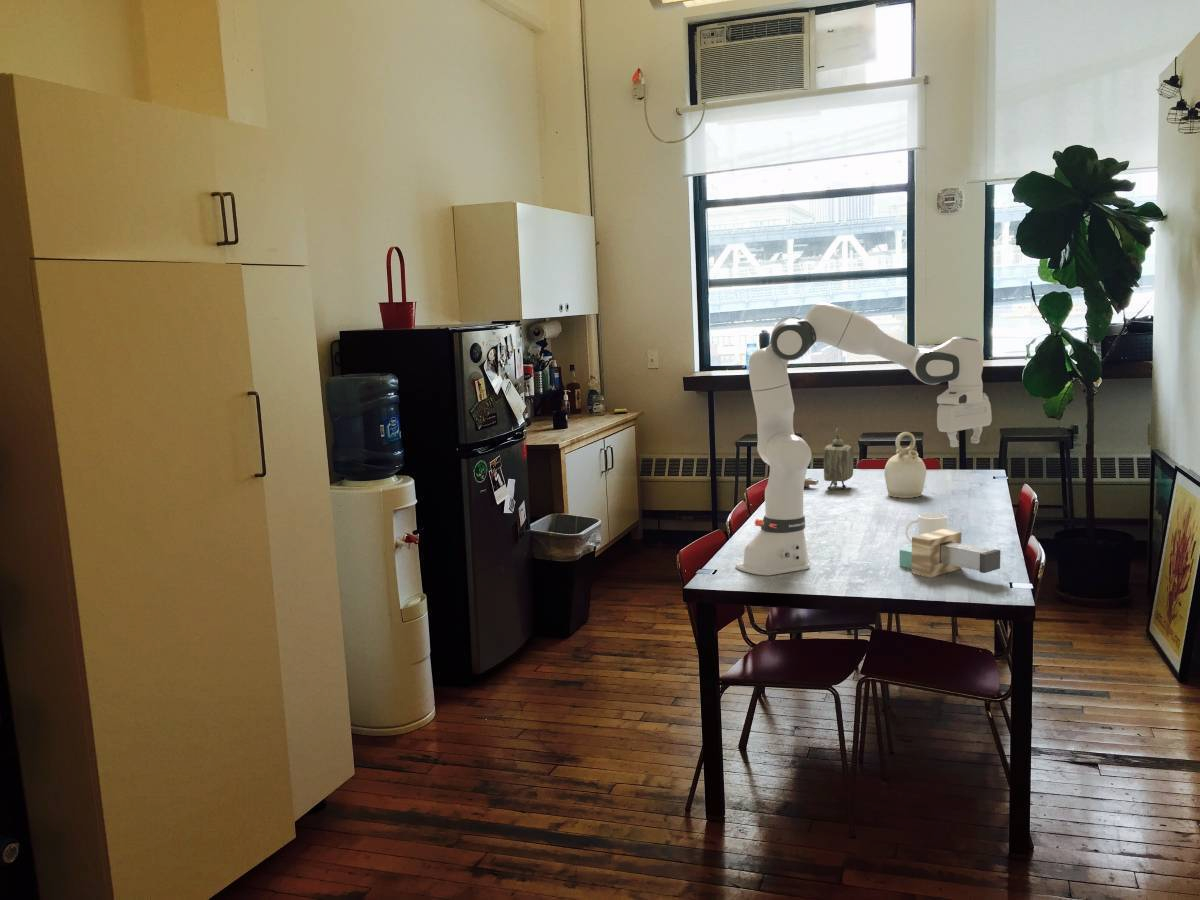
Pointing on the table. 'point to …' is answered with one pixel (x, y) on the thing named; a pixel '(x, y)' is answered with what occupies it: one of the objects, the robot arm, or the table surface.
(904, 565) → the block
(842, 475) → the tabletop clock
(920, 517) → the mug
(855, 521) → the table surface
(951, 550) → the shaft
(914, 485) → the jug
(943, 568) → the bearing block
